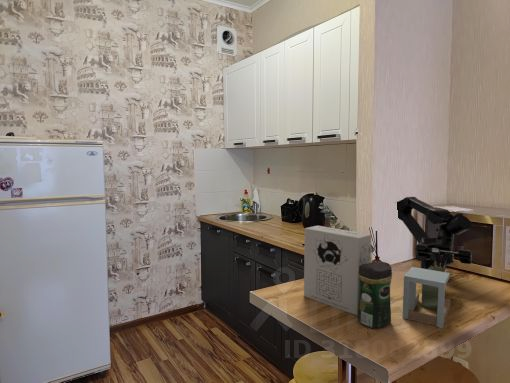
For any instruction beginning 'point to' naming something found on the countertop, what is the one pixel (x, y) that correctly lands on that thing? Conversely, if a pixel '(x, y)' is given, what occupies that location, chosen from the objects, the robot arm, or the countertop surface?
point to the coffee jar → (375, 294)
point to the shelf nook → (412, 296)
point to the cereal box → (335, 266)
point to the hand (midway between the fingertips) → (439, 272)
